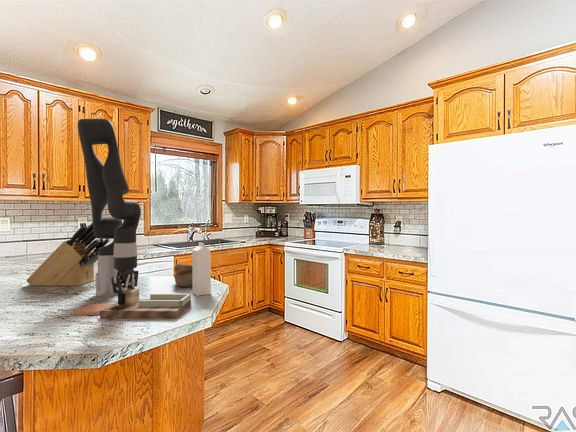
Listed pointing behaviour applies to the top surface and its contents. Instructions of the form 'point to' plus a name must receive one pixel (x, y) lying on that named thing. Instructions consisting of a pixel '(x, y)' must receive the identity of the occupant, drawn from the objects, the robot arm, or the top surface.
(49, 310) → the top surface
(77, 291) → the top surface
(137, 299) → the block
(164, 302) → the grey green shallow tray
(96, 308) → the tile
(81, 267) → the knife block
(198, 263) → the milk
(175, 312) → the dark brown flat tray
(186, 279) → the bowl
